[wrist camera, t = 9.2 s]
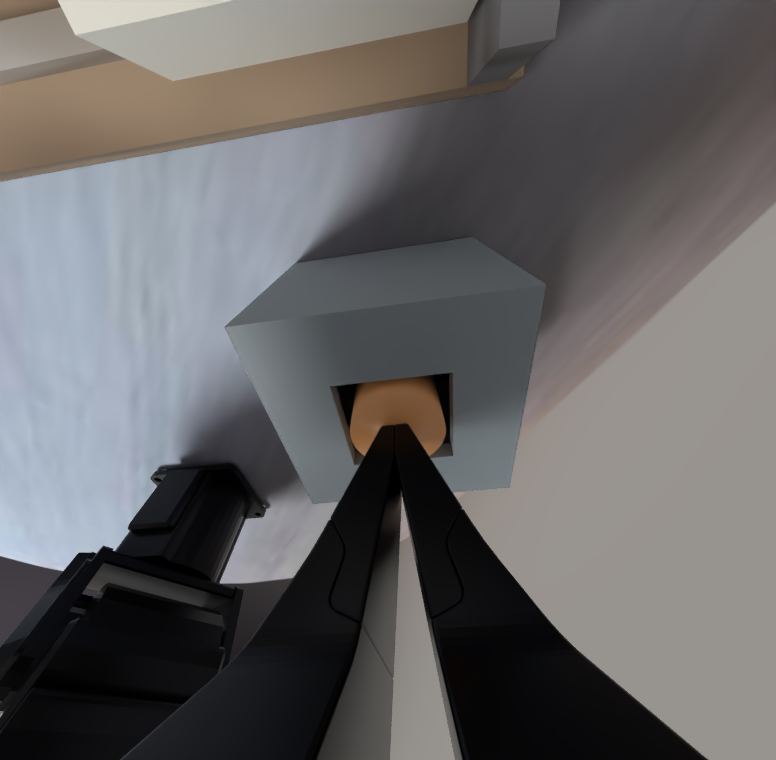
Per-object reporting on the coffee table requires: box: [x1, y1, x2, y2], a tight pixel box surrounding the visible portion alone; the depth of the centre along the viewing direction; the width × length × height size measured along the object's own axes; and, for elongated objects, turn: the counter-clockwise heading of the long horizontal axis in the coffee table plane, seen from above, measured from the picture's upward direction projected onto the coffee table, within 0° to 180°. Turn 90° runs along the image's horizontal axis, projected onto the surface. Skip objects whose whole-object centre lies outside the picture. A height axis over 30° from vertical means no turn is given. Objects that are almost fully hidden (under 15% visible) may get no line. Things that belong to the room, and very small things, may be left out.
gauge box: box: [224, 237, 547, 504], centre depth 12 cm, size 8×8×7 cm
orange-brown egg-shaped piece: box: [350, 375, 446, 456], centre depth 10 cm, size 3×3×4 cm
